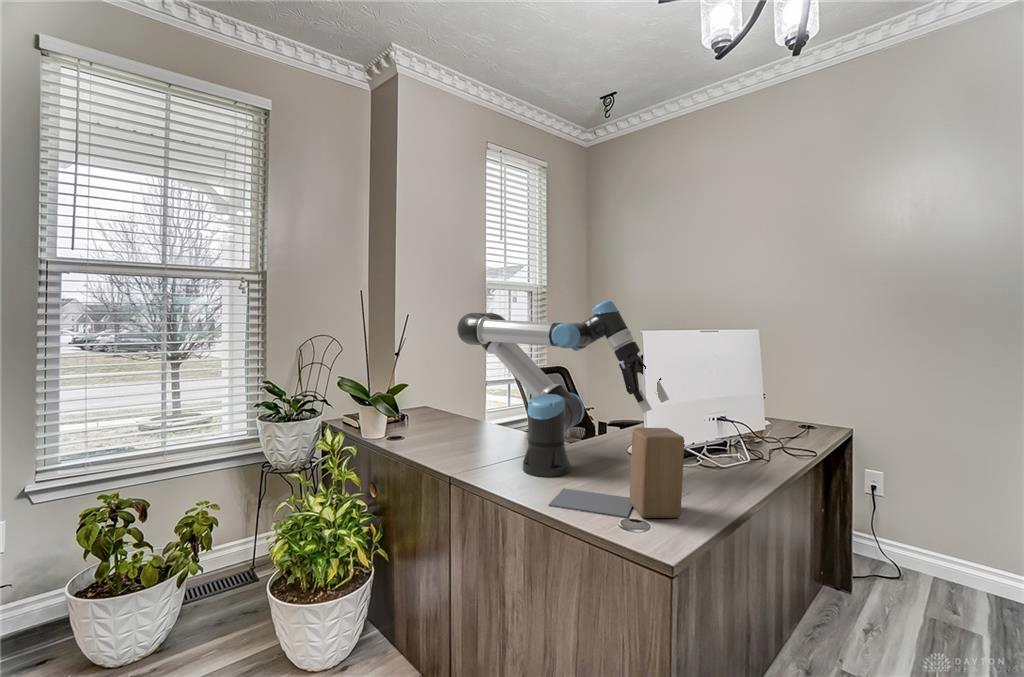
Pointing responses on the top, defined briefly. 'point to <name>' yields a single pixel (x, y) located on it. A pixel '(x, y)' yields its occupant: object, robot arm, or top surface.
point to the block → (656, 472)
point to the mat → (593, 502)
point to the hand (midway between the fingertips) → (656, 406)
